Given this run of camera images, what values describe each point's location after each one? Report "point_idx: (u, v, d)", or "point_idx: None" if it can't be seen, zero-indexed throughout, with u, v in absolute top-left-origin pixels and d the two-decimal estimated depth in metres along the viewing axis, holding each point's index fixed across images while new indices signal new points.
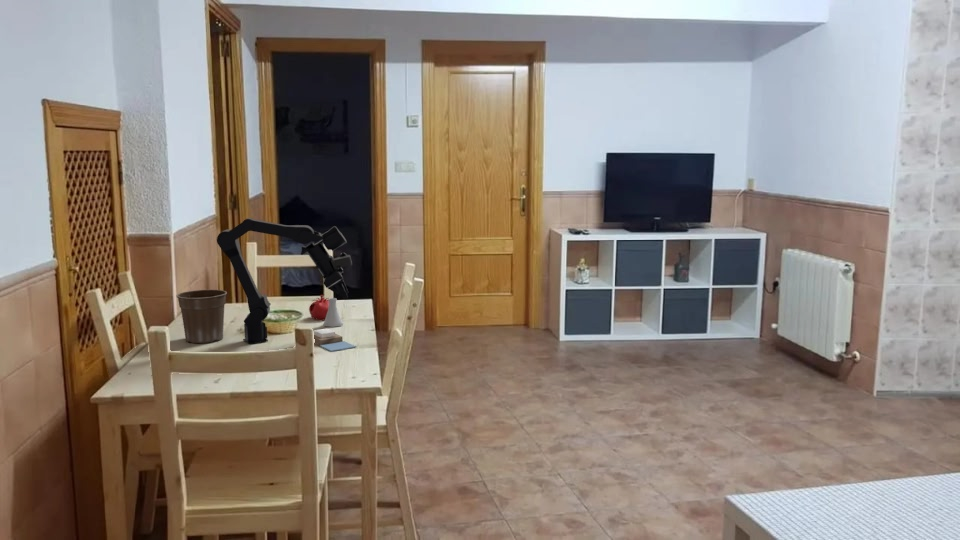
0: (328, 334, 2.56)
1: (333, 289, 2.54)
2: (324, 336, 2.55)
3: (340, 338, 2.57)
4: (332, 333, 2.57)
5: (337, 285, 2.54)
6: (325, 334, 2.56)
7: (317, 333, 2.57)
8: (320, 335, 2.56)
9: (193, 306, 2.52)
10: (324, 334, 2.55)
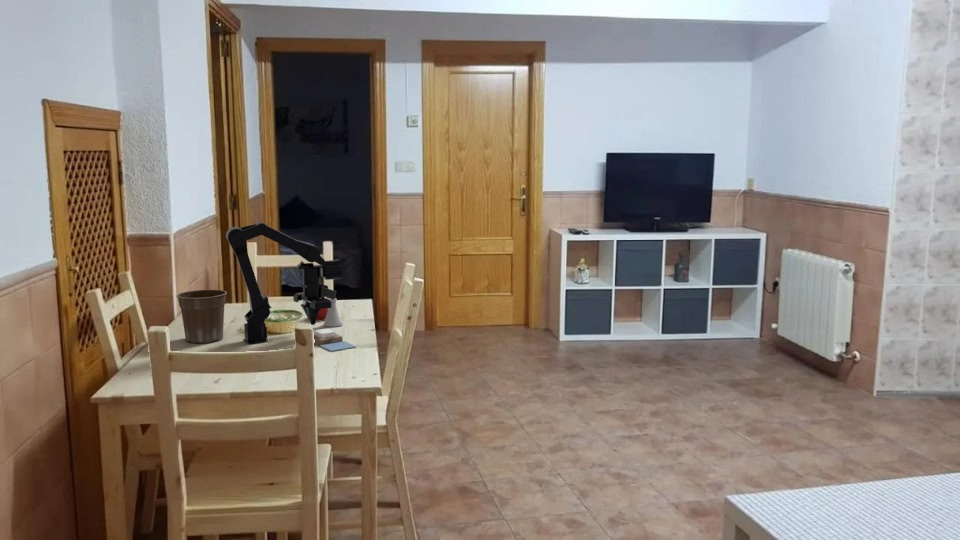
0: (328, 334, 2.56)
1: (310, 311, 2.62)
2: (324, 336, 2.55)
3: (340, 338, 2.57)
4: (332, 333, 2.57)
5: (314, 309, 2.63)
6: (325, 334, 2.56)
7: (317, 333, 2.57)
8: (320, 335, 2.56)
9: (193, 306, 2.52)
10: (324, 334, 2.55)
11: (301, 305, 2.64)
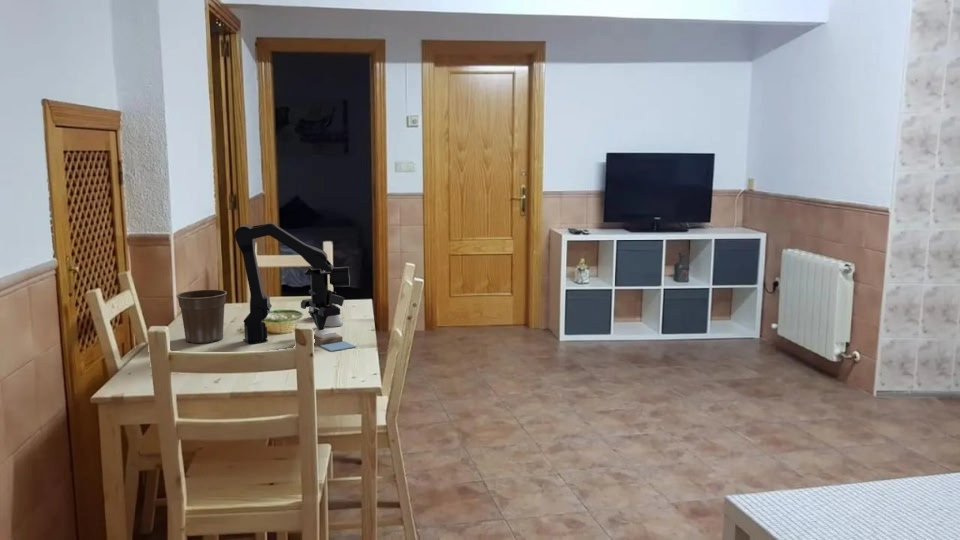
0: (329, 334, 2.56)
1: (318, 318, 2.58)
2: (325, 336, 2.55)
3: (340, 338, 2.57)
4: (333, 333, 2.57)
5: (322, 316, 2.59)
6: (326, 334, 2.55)
7: (318, 333, 2.57)
8: (321, 335, 2.55)
9: (193, 306, 2.52)
10: (325, 334, 2.55)
11: (309, 312, 2.60)
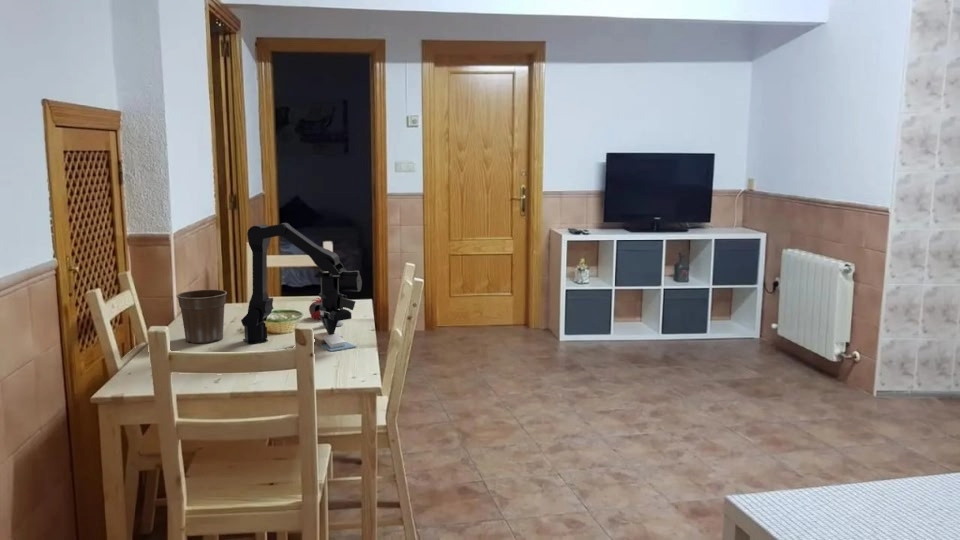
0: (338, 344, 2.50)
1: (328, 322, 2.52)
2: (333, 346, 2.49)
3: None
4: (342, 343, 2.51)
5: (332, 320, 2.53)
6: (335, 344, 2.49)
7: (327, 340, 2.51)
8: (330, 344, 2.49)
9: (193, 306, 2.52)
10: (334, 344, 2.49)
11: (319, 316, 2.54)
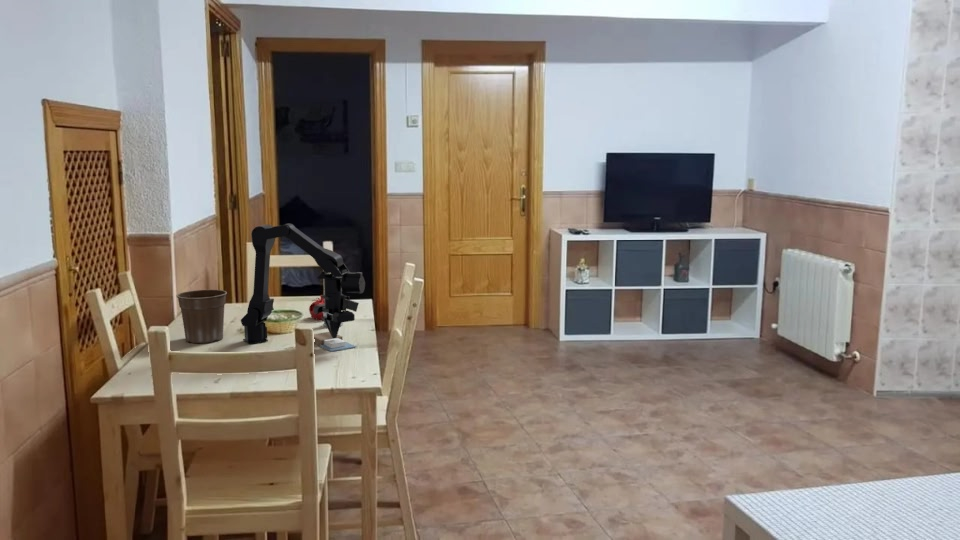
0: (338, 344, 2.50)
1: (331, 324, 2.50)
2: (334, 346, 2.49)
3: (340, 338, 2.57)
4: (342, 343, 2.50)
5: (335, 322, 2.51)
6: (335, 344, 2.49)
7: (327, 343, 2.51)
8: (330, 345, 2.49)
9: (193, 306, 2.52)
10: (334, 344, 2.49)
11: (322, 318, 2.52)
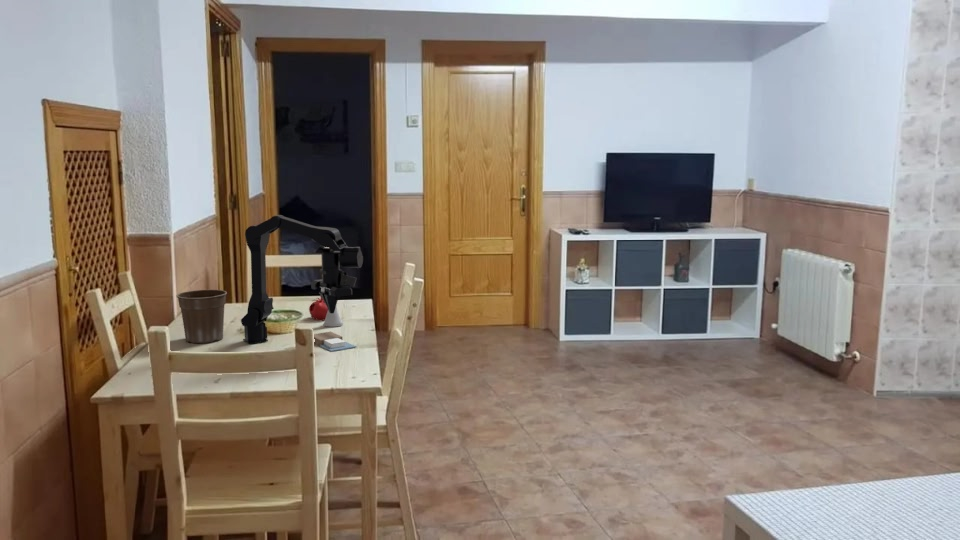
0: (338, 344, 2.50)
1: (329, 299, 2.49)
2: (334, 346, 2.49)
3: (340, 338, 2.57)
4: (342, 343, 2.50)
5: (333, 297, 2.50)
6: (335, 344, 2.49)
7: (327, 343, 2.51)
8: (330, 345, 2.49)
9: (193, 306, 2.52)
10: (334, 344, 2.49)
11: (319, 292, 2.51)
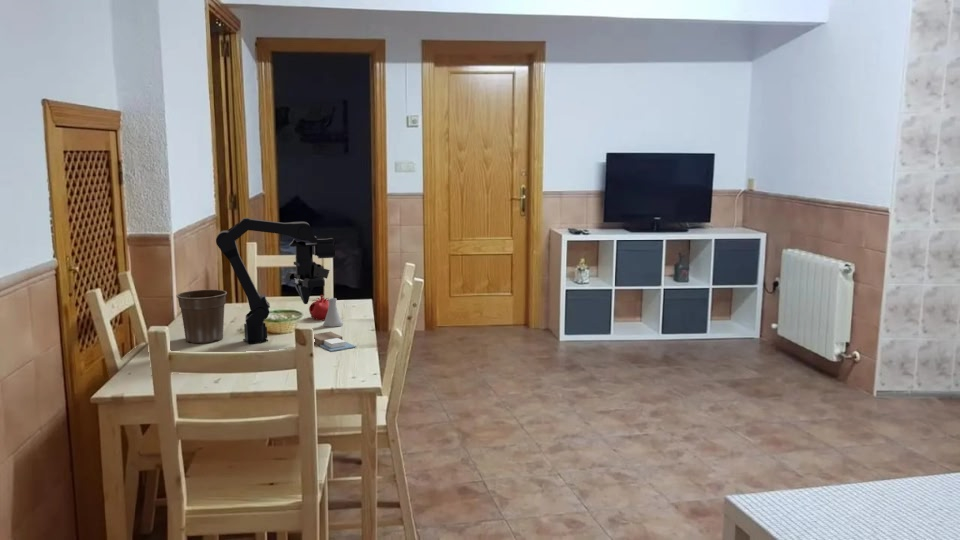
0: (338, 344, 2.50)
1: (302, 290, 2.58)
2: (334, 346, 2.49)
3: (340, 338, 2.57)
4: (342, 343, 2.50)
5: (306, 288, 2.60)
6: (335, 344, 2.49)
7: (327, 343, 2.51)
8: (330, 345, 2.49)
9: (193, 306, 2.52)
10: (334, 344, 2.49)
11: (294, 284, 2.60)
